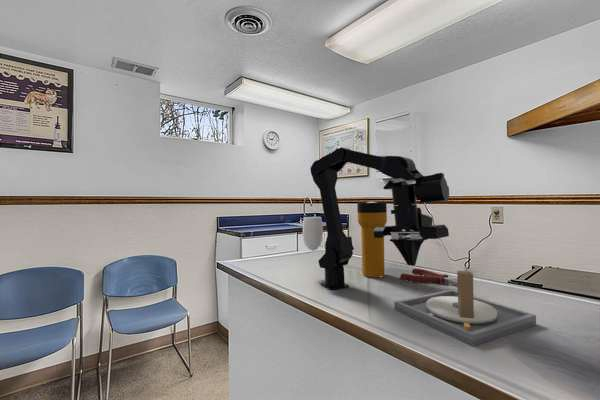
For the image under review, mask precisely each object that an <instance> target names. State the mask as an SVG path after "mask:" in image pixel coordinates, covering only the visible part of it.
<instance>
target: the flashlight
mask: <svg viewBox="0 0 600 400" xmlns="http://www.w3.org/2000/svg"><path fill="white" fill-rule="evenodd" d="M356 204H357V207H356V208H357V222H358V224H359V226H360V229H361V233H360V234H361V274H362V273H363V274H362V275H363V276H364V275H365V276H364V277H366V276H368V277H367V278H381V277H380V276H383V277H385V236H384V237H383V238H374V229H375V228H376V227H382V226H386V225H387V223H388V222H387V221H388V214H387V212H388V209H387V205H388V204H387V202H386V201H385V202H384V201H379V202H377V201H367V202H364V201H363V202H357V203H356Z"/></svg>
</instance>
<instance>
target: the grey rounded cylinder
mask: <svg viewBox="0 0 600 400" xmlns="http://www.w3.org/2000/svg"><path fill="white" fill-rule="evenodd" d="M323 225H324V224H323V220H322V217H321V216H304V217H303V221H302V237H303V242H304V245H305V247H306V248H307V249H308V250H310V251H317V250H318V248H319V247H321V245H322V242H323V236H324V235H323V234H324V228H323V227H324V226H323Z"/></svg>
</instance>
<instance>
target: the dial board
mask: <svg viewBox="0 0 600 400" xmlns="http://www.w3.org/2000/svg"><path fill="white" fill-rule="evenodd" d="M440 296H454V297H458V290H454V289H447V290H442V291H436V292H432V293H428V294H424V295H420V296H419V295H417V296H415V297H408V298H404V299H399V300H395V301H393V303H394V308H393V309H394V311H396V312H398V313H400V314H403V315H404V316H406V317H409V318H411V319H414V320H416V321H418V322H420V323H421V324H424V325H426V326H429V327H431V328H433V329H435V330H437V331H438V332H442V333H443V334H446V335H448V336H450V337H452V338H454V339H457V340H458V341H460V342H463V343H465V344H467V345H469V346H471V347H474V346H475V347H476V346H479V345H481V344H483V343H487V342H489V341H492V340H496V339H499V338H502V337H505V336H507V335H510V334H513V333H515V332H519V331H521V330H525V329H528V328H531V327H533V326H536V325H537V315H536V314H533V313H530V312H527V311H524V310H521V309H518V308H514V307H510V306H508V305H506V304H505V305H504V304H501V303H498V302H494V301H491V300H489V299H484V298H481V297H477V296H475V295H473V300H477V301H481V302H483V303H486V304H488V305H490V306H492V307H494V308H495V309H496V310H497V319H496V320H495V321H493V322H490V323H485V324H469V323H465V322H464V323H460V322H455V321H450V320H446V319H443V318H440V317H438V316H436V315H434V314H432V313H430V312H429V311H428V310H427V308H426V302H427V300H428V299H430V298H434V297H440Z"/></svg>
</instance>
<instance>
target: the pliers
mask: <svg viewBox="0 0 600 400" xmlns="http://www.w3.org/2000/svg"><path fill="white" fill-rule="evenodd" d="M412 273H414V274H412ZM416 274H419V275H416ZM422 275H424V276H422ZM399 279H400V280H401V279H403V280H402V281H404V280H408V281H407V282H409V281H412V282H411V283H418V282H420V283H422V284H437V285H438V284H439V285H441V286H443V285H450V286H455V287H458V279H457V278H453V277H449V275H448V274H441V273H436V272H433V271H430V270H427V269H422V268H413V269H412V270H411V274H407V273H404V272H403V273H401V274H400V275H399Z"/></svg>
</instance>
